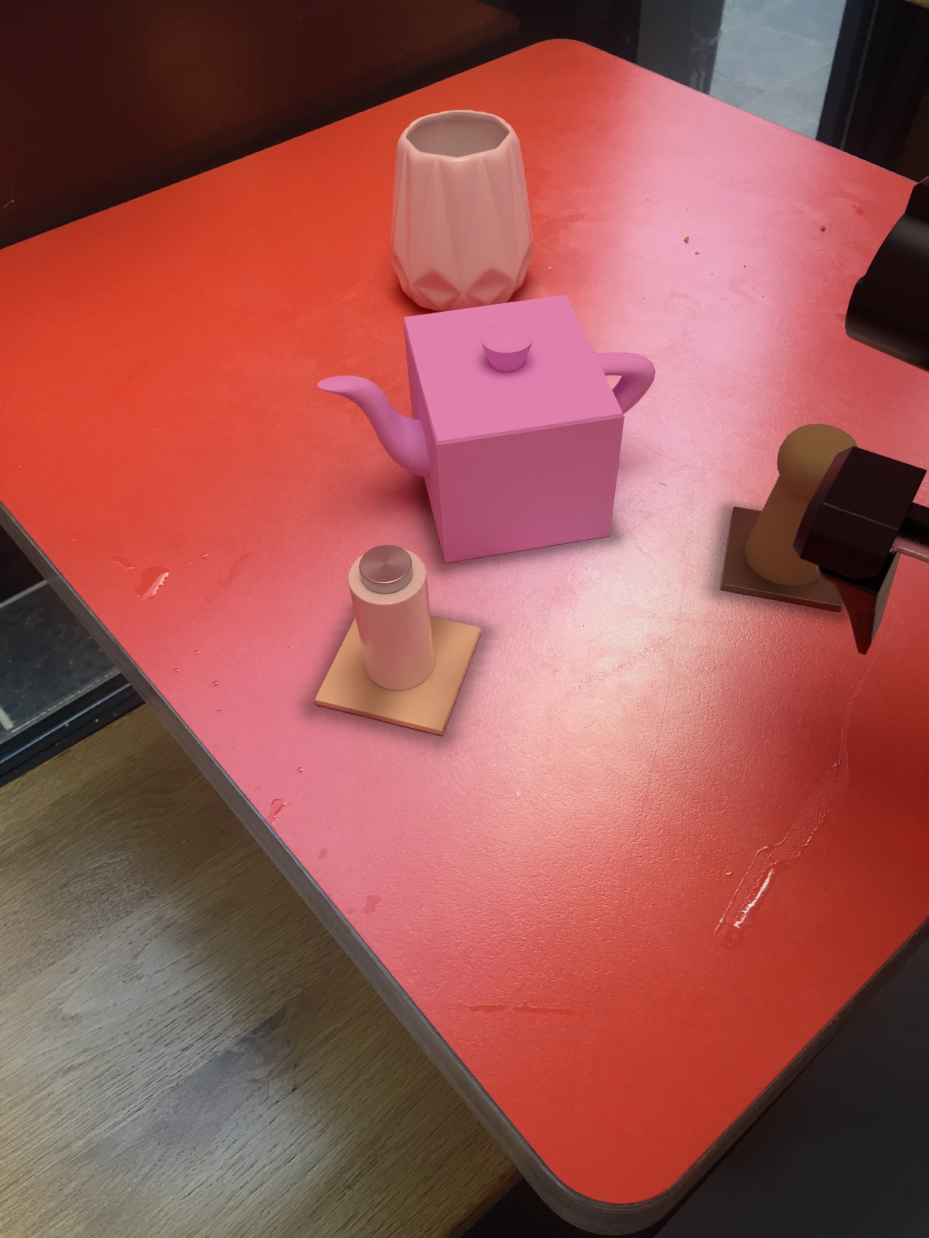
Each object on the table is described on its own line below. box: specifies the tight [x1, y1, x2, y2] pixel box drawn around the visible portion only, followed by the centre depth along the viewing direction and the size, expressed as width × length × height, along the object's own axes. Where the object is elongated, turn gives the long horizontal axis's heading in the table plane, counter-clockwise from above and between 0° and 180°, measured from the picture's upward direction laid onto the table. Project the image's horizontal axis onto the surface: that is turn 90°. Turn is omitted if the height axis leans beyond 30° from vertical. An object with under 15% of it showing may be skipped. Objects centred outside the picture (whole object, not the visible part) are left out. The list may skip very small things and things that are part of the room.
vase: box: [390, 109, 535, 313], centre depth 89 cm, size 14×14×15 cm
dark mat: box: [720, 506, 843, 612], centre depth 69 cm, size 8×8×1 cm
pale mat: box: [314, 615, 482, 736], centre depth 64 cm, size 9×9×1 cm
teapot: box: [316, 294, 656, 564], centre depth 70 cm, size 15×25×14 cm, turn 101°
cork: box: [744, 423, 859, 586], centre depth 65 cm, size 6×6×11 cm
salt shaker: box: [347, 544, 435, 690], centre depth 60 cm, size 5×5×10 cm
